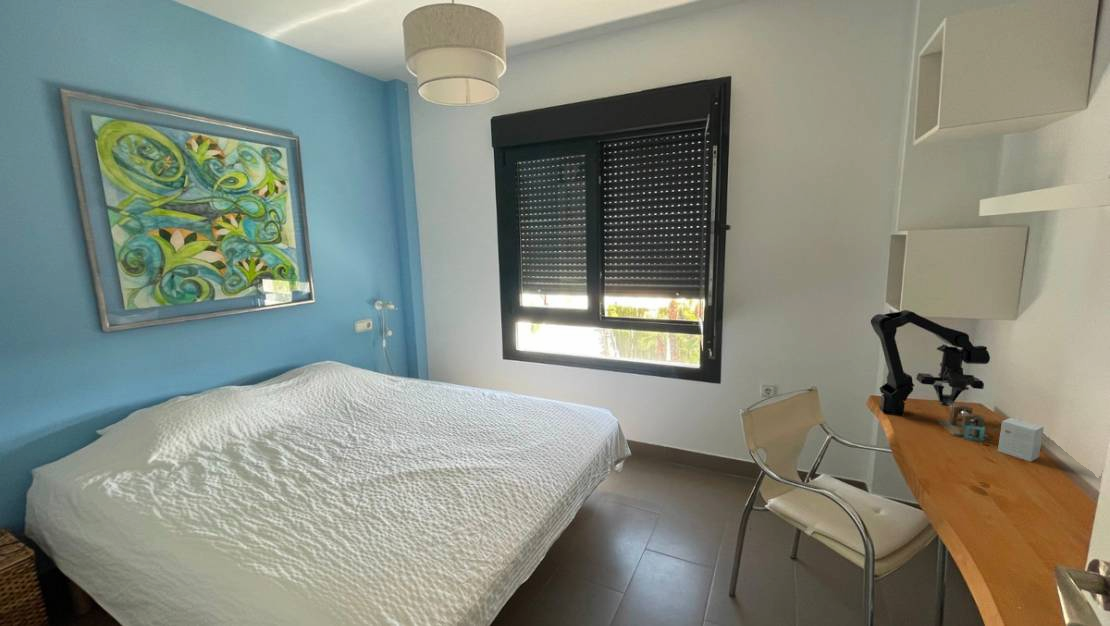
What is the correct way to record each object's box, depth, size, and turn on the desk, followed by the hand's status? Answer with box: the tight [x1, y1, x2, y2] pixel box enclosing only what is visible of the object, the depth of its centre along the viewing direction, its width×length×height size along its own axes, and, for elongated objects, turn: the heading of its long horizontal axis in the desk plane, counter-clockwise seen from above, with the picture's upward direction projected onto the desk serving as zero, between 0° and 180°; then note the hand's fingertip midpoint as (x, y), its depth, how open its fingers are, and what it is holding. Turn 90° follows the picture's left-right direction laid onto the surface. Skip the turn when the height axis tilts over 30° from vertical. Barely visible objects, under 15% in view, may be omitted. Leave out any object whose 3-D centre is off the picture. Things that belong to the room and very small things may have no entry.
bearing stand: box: [937, 404, 991, 441], centre depth 158 cm, size 10×13×8 cm
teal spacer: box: [962, 424, 986, 442], centre depth 152 cm, size 5×1×5 cm, turn 69°
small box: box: [997, 417, 1045, 463], centre depth 141 cm, size 8×6×10 cm
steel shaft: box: [939, 393, 977, 425], centre depth 162 cm, size 3×21×4 cm, turn 159°
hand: (946, 402), depth 171 cm, fingers closed on steel shaft, 3 cm apart
